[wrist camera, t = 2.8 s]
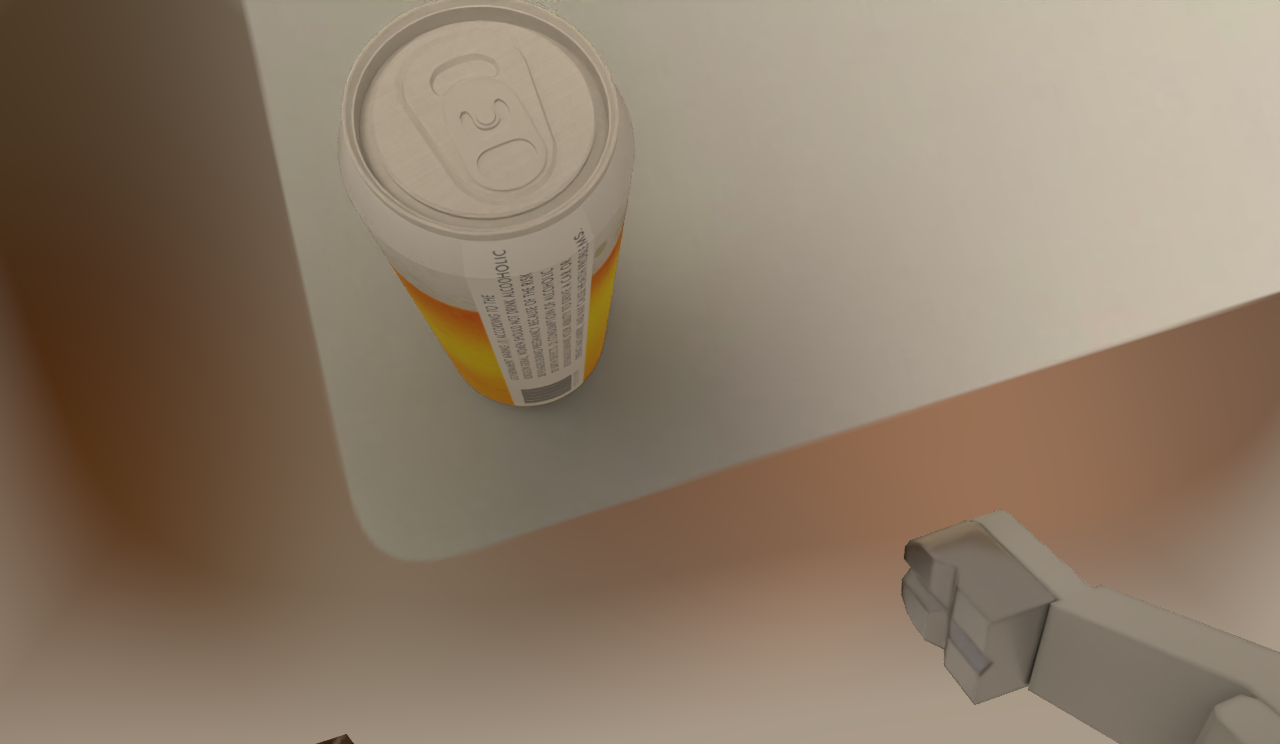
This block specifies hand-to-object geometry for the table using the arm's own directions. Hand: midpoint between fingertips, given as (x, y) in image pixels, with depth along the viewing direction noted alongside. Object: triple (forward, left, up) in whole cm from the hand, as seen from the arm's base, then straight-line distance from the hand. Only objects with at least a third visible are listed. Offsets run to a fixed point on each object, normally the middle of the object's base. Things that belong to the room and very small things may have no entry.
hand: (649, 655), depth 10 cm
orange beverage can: (0, +10, -17) cm, 20 cm away
